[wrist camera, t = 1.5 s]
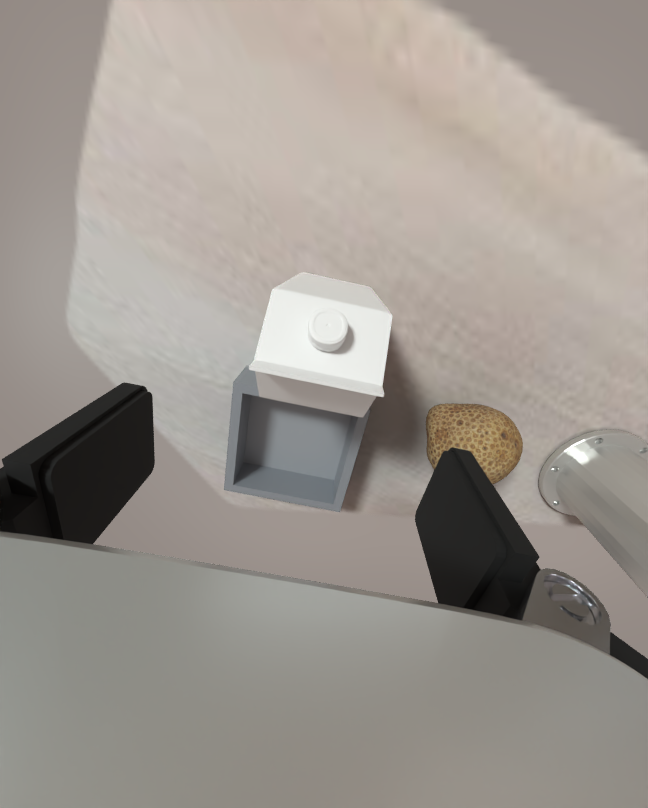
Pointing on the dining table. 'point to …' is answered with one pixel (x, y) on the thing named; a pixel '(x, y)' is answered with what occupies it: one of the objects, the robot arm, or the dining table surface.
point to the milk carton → (323, 345)
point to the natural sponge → (475, 436)
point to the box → (289, 448)
